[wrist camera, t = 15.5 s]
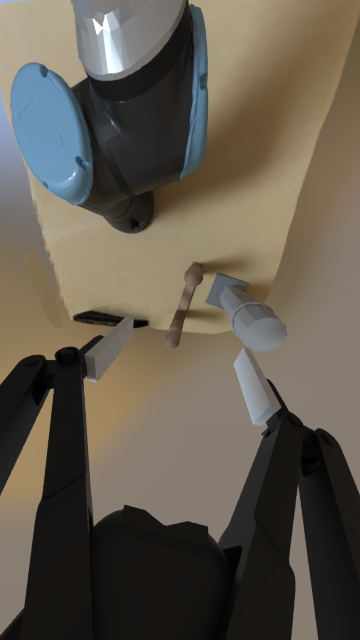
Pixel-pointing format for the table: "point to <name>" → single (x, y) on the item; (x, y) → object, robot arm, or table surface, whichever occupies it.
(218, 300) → the pad
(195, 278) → the gate
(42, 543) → the robot arm
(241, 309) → the water bottle
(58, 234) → the table surface
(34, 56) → the table surface
